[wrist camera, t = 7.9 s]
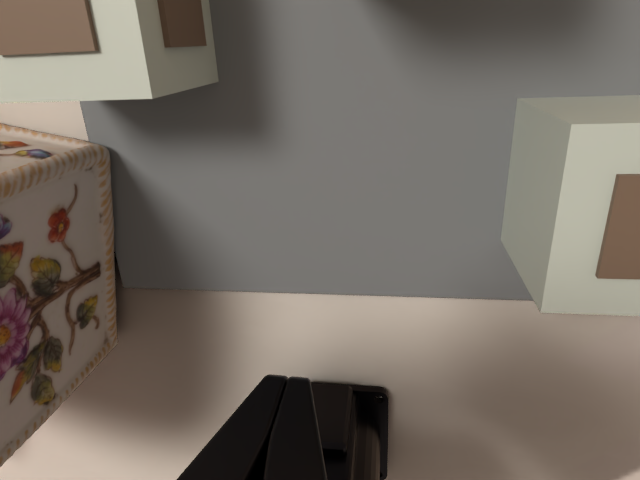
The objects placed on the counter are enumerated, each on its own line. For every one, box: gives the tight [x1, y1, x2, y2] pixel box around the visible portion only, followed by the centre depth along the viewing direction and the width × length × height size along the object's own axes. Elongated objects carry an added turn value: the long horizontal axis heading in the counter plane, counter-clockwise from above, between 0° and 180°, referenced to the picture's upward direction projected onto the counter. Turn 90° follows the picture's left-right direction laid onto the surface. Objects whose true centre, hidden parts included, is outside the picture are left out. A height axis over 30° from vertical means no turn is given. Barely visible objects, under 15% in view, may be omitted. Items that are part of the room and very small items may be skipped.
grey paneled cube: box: [501, 95, 640, 316], centre depth 16 cm, size 6×6×6 cm
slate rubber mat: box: [80, 0, 640, 301], centre depth 18 cm, size 24×26×1 cm
